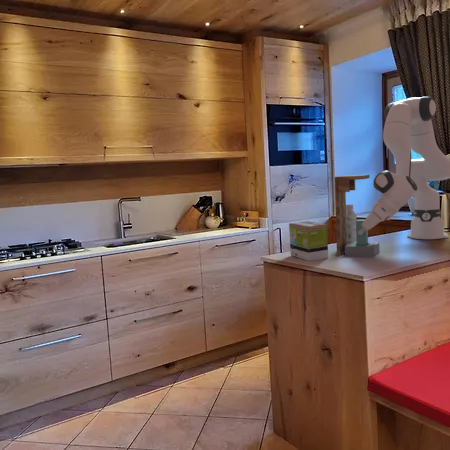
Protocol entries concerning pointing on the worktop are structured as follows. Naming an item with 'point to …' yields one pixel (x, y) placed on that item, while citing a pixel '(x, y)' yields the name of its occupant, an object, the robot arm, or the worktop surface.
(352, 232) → the plastic bottle
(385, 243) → the worktop surface
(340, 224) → the wooden post stand
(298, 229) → the tea box
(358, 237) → the peg
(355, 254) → the socket block
